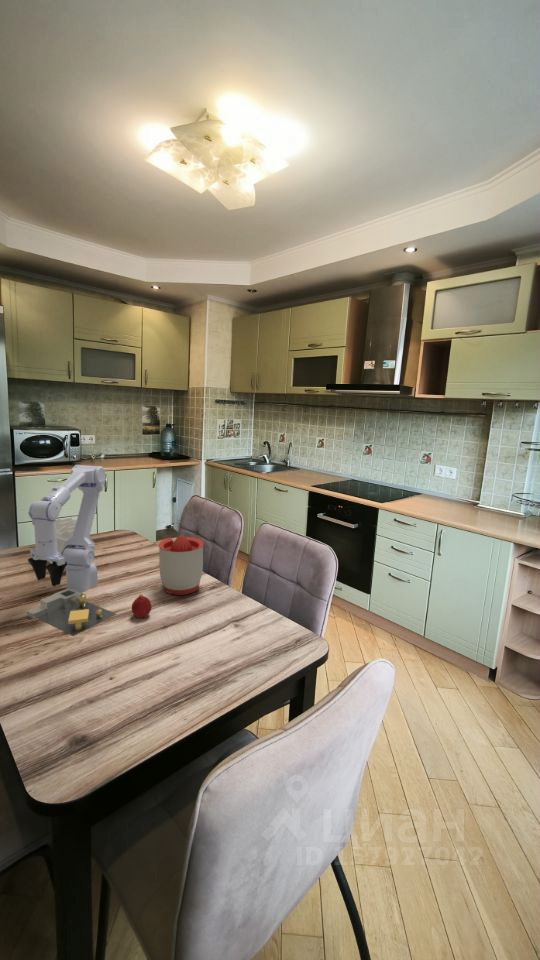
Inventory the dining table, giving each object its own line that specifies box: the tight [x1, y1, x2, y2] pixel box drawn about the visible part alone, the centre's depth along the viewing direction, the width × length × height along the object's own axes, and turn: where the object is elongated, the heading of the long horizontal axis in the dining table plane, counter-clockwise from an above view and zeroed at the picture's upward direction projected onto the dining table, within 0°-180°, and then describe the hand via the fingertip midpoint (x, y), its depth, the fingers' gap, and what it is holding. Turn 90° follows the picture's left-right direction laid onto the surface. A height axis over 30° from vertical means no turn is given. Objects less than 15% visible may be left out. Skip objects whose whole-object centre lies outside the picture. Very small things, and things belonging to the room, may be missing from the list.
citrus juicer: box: [157, 534, 205, 596], centre depth 147 cm, size 16×17×20 cm
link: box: [26, 587, 83, 620], centre depth 129 cm, size 15×6×4 cm, turn 150°
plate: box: [26, 600, 117, 637], centre depth 127 cm, size 15×23×1 cm, turn 60°
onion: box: [131, 593, 153, 619], centre depth 126 cm, size 6×6×8 cm
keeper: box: [68, 609, 89, 630], centre depth 120 cm, size 6×5×3 cm
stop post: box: [96, 609, 102, 618], centre depth 125 cm, size 2×2×2 cm
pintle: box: [79, 593, 87, 607], centre depth 131 cm, size 2×2×4 cm
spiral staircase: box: [47, 516, 96, 570], centre depth 166 cm, size 18×18×25 cm
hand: (48, 582), depth 127 cm, fingers open, 7 cm apart
